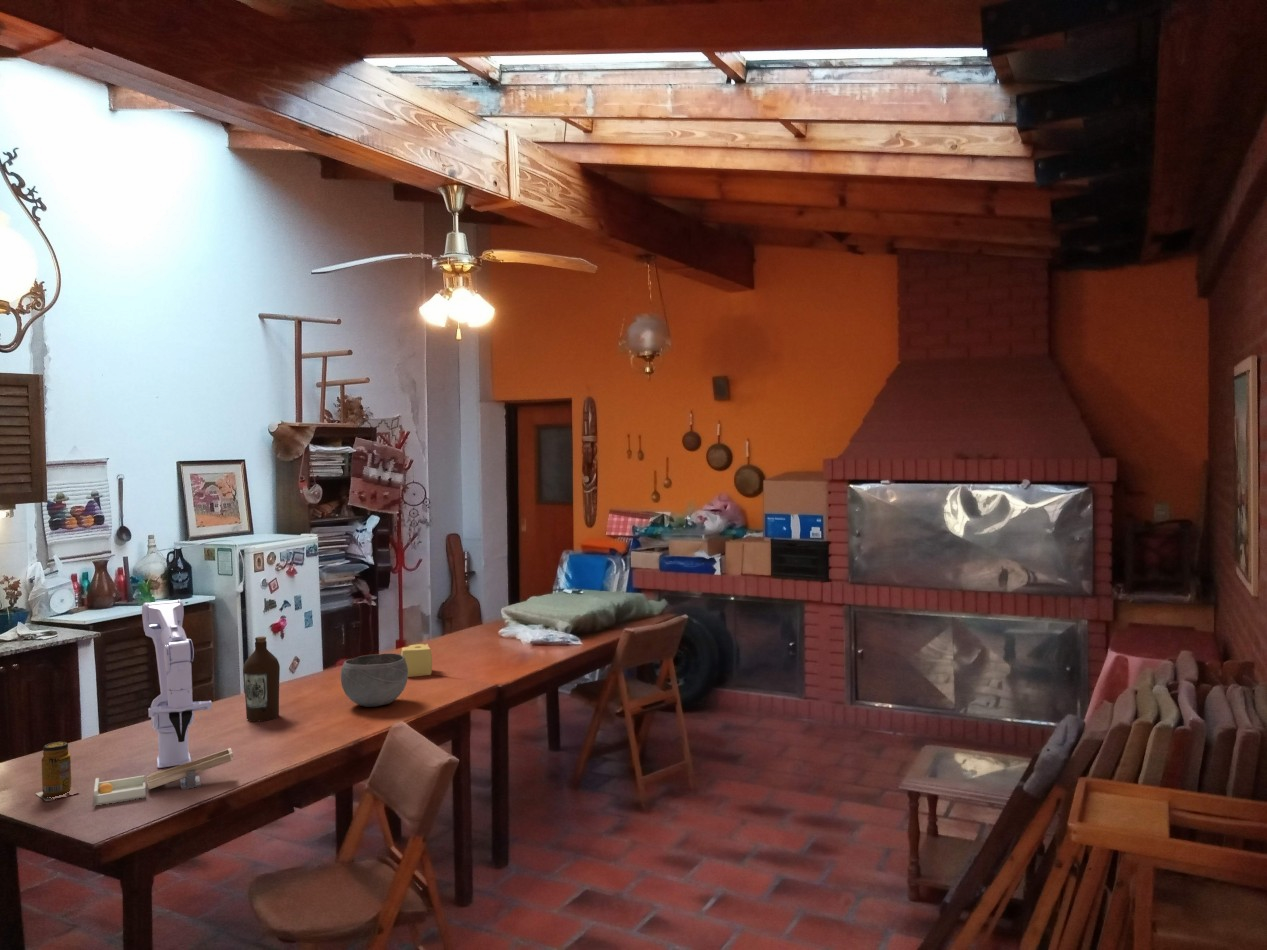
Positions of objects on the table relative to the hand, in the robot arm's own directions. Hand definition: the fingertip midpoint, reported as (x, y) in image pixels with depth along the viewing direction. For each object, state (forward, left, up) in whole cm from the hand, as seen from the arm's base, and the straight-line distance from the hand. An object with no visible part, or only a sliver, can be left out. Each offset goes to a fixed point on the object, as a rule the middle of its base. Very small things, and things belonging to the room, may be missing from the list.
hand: (181, 740), depth 245 cm
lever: (+5, +2, -6) cm, 8 cm away
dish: (+8, -14, -9) cm, 18 cm away
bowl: (-44, +59, -9) cm, 74 cm away
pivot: (+8, +2, -9) cm, 12 cm away
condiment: (-1, -27, -9) cm, 29 cm away
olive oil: (-47, +25, -9) cm, 54 cm away
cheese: (-80, +82, -9) cm, 114 cm away
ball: (+8, -17, -7) cm, 20 cm away
